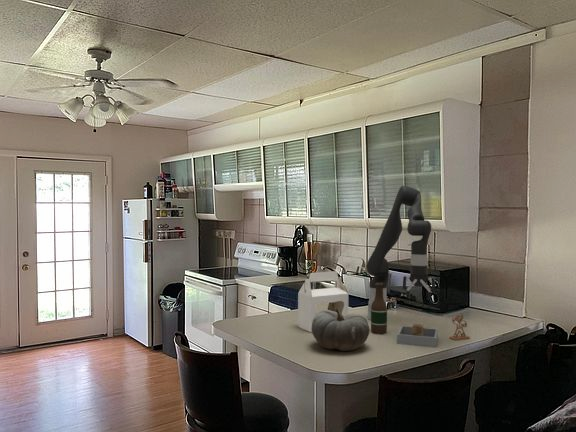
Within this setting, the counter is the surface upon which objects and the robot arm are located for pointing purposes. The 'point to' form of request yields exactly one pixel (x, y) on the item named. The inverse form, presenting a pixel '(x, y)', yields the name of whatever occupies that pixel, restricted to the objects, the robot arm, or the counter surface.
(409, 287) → the robot arm
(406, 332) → the grey bin
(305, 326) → the gable box
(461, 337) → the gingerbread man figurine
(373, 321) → the beer bottle
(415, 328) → the walnut block
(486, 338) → the counter surface
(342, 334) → the gourd
